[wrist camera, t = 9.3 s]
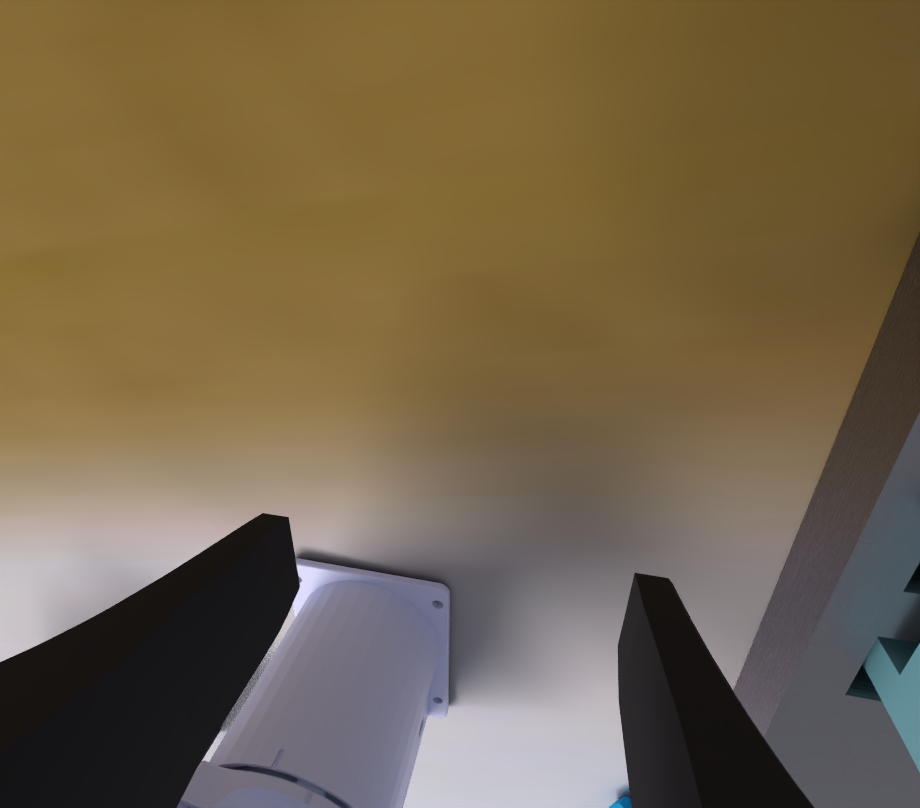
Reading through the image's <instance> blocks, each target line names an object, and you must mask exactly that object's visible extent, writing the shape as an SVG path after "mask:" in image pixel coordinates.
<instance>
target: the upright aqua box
mask: <svg viewBox="0 0 920 808" xmlns="http://www.w3.org/2000/svg"><path fill="white" fill-rule="evenodd" d="M863 666H864V668H865V670H866V672H867V674H868V676H869V677H870V679H871V681H872V683H873V685H874V687H875V689H876V691H877V693H878V694H879V696H880V698H881V700H882V702H883V704H884V706H885V708H886V710H887V711H888V713H889V715H890V717H891V719H892V721H893V723H894V725H895V727H896V728H897V730H898V732H899V734H900V736H901V738H902V740H903V742H904V743H905V745H906V747H907V749H908V751H909V753H910V755H911V757H912V759H913V760H914V762H915V764H916V766H917V768H918V770H919V772H920V643H915V642H909V641H903V640H897V639H891V638H885V637H879V636H878V637H877V639H876V641H875V643H874V644H873V646H872V648H871V650H870V651H869V653H868V655H867V657H866V659H865V660H864V662H863Z"/></svg>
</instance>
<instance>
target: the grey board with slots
mask: <svg viewBox="0 0 920 808" xmlns="http://www.w3.org/2000/svg"><path fill="white" fill-rule="evenodd" d="M878 636H879V637H885V638H891V639H897V640H903V641H909V642H915V643H920V234H919V236H918V239H917V241H916V244H915V246H914V248H913V251H912V253H911V256H910V258H909V261H908V263H907V266H906V268H905V271H904V273H903V276H902V278H901V280H900V283H899V285H898V288H897V290H896V293H895V295H894V298H893V300H892V303H891V305H890V307H889V310H888V312H887V315H886V317H885V320H884V322H883V325H882V327H881V330H880V332H879V335H878V337H877V339H876V342H875V344H874V347H873V349H872V352H871V354H870V357H869V359H868V362H867V364H866V367H865V369H864V371H863V374H862V376H861V379H860V381H859V384H858V386H857V389H856V391H855V394H854V396H853V398H852V401H851V403H850V406H849V408H848V411H847V413H846V416H845V418H844V421H843V423H842V426H841V428H840V430H839V433H838V435H837V438H836V440H835V443H834V445H833V448H832V450H831V453H830V455H829V457H828V460H827V462H826V465H825V467H824V470H823V472H822V475H821V477H820V480H819V482H818V485H817V487H816V489H815V492H814V494H813V497H812V499H811V502H810V504H809V507H808V509H807V512H806V514H805V517H804V519H803V521H802V524H801V526H800V529H799V531H798V534H797V536H796V539H795V541H794V544H793V546H792V548H791V551H790V553H789V556H788V558H787V561H786V563H785V566H784V568H783V571H782V573H781V576H780V578H779V580H778V583H777V585H776V588H775V590H774V593H773V595H772V598H771V600H770V603H769V605H768V608H767V610H766V612H765V615H764V617H763V620H762V622H761V625H760V627H759V630H758V632H757V635H756V637H755V639H754V642H753V644H752V647H751V649H750V652H749V654H748V657H747V659H746V662H745V664H744V667H743V669H742V671H741V674H740V676H739V679H738V681H737V684H736V686H735V689H734V693H735V695H736V696H737V698H738V699H739V701H740V702H741V704H742V706H743V707H744V709H745V710H746V712H747V713H748V715H749V716H750V718H751V719H752V721H753V722H754V724H755V725H756V727H757V728H758V730H759V731H760V733H761V734H762V736H763V737H764V739H765V740H766V741H767V743H768V744H769V746H770V747H771V749H772V750H773V752H774V753H775V755H776V756H777V757H778V759H779V760H780V762H781V763H782V764H783V766H784V767H785V769H786V770H787V771H788V773H789V774H790V775H791V777H792V778H793V780H794V781H795V782H796V784H797V785H798V786H799V788H800V789H801V790H802V792H803V793H804V794H805V796H806V797H807V798H808V800H809V801H810V802H811V804H812V805H813V806H814V807H815V808H920V772H919V770H918V768H917V766H916V764H915V762H914V760H913V759H912V757H911V755H910V753H909V751H908V749H907V747H906V745H905V743H904V742H903V740H902V738H901V736H900V734H899V732H898V730H897V728H896V727H895V725H894V723H893V721H892V719H891V717H890V715H889V713H888V711H887V710H886V708H885V706H884V704H883V702H882V700H881V698H880V696H879V694H878V693H877V691H876V689H875V687H874V685H873V683H872V681H871V679H870V677H869V676H868V674H867V672H866V670H865V668H864V666H863V662H864V660H865V659H866V657H867V655H868V653H869V651H870V650H871V648H872V646H873V644H874V643H875V641H876V639H877V637H878Z"/></svg>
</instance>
